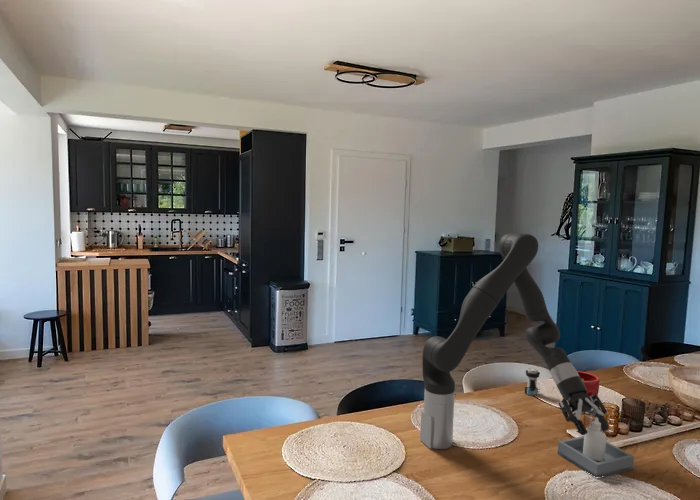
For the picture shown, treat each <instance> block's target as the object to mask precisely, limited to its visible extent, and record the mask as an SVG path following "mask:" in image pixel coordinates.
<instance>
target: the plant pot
mask: <svg viewBox="0 0 700 500" xmlns="http://www.w3.org/2000/svg"><path fill="white" fill-rule="evenodd" d="M576 371H577V372H578V374H579V376H580V378H581V380H582V381H583V383H584V385H585V387H586V389H587V391H586V393H587V394H588V396H589V397H590V396H593V395H595V394H596V395H597V396H598V395H599V392H600V377H599V376H597V375H595V374H593V373H589V372H586V371H585V372H584V371H578V370H576ZM598 397H599V396H598ZM563 399H564V398H563V397H562V400H563ZM569 407H570V406H569ZM570 409H571V407H570ZM591 409H592V407H591Z"/></svg>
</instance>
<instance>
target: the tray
mask: <svg viewBox="0 0 700 500" xmlns="http://www.w3.org/2000/svg"><path fill="white" fill-rule="evenodd" d="M583 445H584V435H581V436H576V437H573V438H572V437H571V438H568V439H563V440H559V441H557V455H558V456H560V457H562V458H563V459H565V460H566V461H567V462H569V463H571V464H572V465H575V466H576V467H578V468H579V469H581V470H582V471H584V472H585V471H586V472H585V473H587V472H588V473H590V474H592V475H593V476H595V477H602V476H606V477H609V476H608V475H610V476H614V475H617V474H622V473H625V472H629V471H633V470H634V459H635V456H634V455H632V454H630V453H629V452H627V451H625V450H623V449H621V448H620V447H617V446H615V445H614V444H611V442H609V441H606V448H605V459H604V460H603V461H602V462H600V461H596V460H592V459H591V458H589V457H587V456H586V455H584V454H583ZM588 473H587V474H588ZM590 474H589V475H590ZM593 476H592V477H593ZM602 478H603V477H602Z"/></svg>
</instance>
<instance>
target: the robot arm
mask: <svg viewBox="0 0 700 500" xmlns="http://www.w3.org/2000/svg"><path fill="white" fill-rule="evenodd" d="M498 250H499V253H500V256H501V258H502V260H503V261H501V263H500V264H499V265H498V266H497V267H496V268H495V269H493V270H491V271H490V272H489V273H487V274H486V275H484V276H483V277H482V278H480V279H479V280H478V281H477V282H476V283H474V285H473V286H472V288H471V289H470V290H469V292H468V293H467V295H466V296H465V298H464V299H463V302H462V303H461V307H460V314H459V318H458V321H457V324H456V326H455V328H454V329H453V331H452V332H451V333H450V335H449V336H448V337H447V338H445V337H442V336H437V335H435V336H431V337H430V338H428V339H427V340H426V342H425V344H424V346H423V349H422V359H421V360H422V361H421V362H422V379H423V382H424V396H423V400H424V401H423V410H421V412H420V428H419V429H420V432H419V433H420V434H419V441H421V443H423V444H424V445H425V446H426V447H427V448H429V450H431V449H434V450H444V449H445V450H447V449H449V448H451V447H452V446H453V439H454V415H455V412H454V411H455V397H456V395H455V391H456V383H455V380H454V378H453V377H452V375H451V373H450V372H452V371H454V370H455V369H457V367H458V366H459V365H460V363H461V362H462V361H463V359H464V357H465V355H466V353H467V351H468V350H469V348H470V347H471V344H472V342H473V340H475V338H476V336H477V334H478V333H479V332H480V331H481V329H482V328H483V325H484V324H485V322H487V320H488V319H489V318H490V316H491V315H492V313H493V312H494V310H495V309H496V308H497V306H498V305H499V304H500V302H501V300H502V299H503V297H504V296H505V295H506V293H507V292H508V291H509V289H510V288H511V286H512V285H513V284H514V285H515V287H516V290H517V293H518V296H519V298H520V301H521V304H522V309H523V311H524V315H525V317H526V319H527V320H528V322H529V321H530V322H542V323H540V324H539V323H538V324H536V325H533V326H530V327H528V328H527V329H526V331H525V339H526V341H527V342H528V344H529V345H530V346H531V347H532V348H533V349H534V350H535V351H536V353H538V354H539V356H540V357H541V358H542V359H543V362H544V363H545V365H546V367H547V369H548V371H549V373H550V375H551V378H552V380H553V382H554V383H555V386H556V388H557V389H558V391H559V394H560V395H561V397H562V400H560V401H559V402H558V406H559V408H560V410H561V412H562V414H563V415H562V416H564V419H565V421H566V422H567V423H568V422H571V423H573V424H574V426H575V428H576V430H577V432H578V433H579V434H580V435H581V436H584V435H585V434H587V430H586V429H587V428H586V426H585V424H584V422H583V421H582V419H581V414H582V413H584V414H586V413H587V414H588V415H591V416H593V417H595V418H596V417H597V418H598V420H599V422H600V423H601V431H602V432H606V431H608V430H609V429H610V425H609V424H608V421H607V420H606V417H605V415H606V414H607V413H608V410H607V408H606V407H605V405H604V404H603V402H602V401H601V398H600V397H599V396H597V395H596V394H595V395H593V396H590V397H589V396H588V394H587V393H586V391H587V389H586V387H585V385H584V383H583V381H584V380H583V379H581V378H580V376H579V374H578V372H577V371H578V370H577V369H576V367H574V365H573V364H572V362H571V360H570V359H569V356H568V354H567V353H566V351H565V350H564V349H563V348H562V347H559V346H558V347H557V346H556V347H549V346H547V345H550V344H553V343H554V344H555V343H556V342H558V341H559V340H560V338H561V332H560V329H559V328H558V326H557V324H556V323H555V322H554V320H553V319H552V316H551V315H550V313H549V310H548V308H547V305H546V300H545V297H544V295H543V293H542V291H541V289H540V287H539V286H538V284H537V282H536V281H535V280H534V278H533V277H532V275H531V273H530V271H529V269H528V268H527V267H528V266H529V265H530V264H531V263H532V261H533V260H534V259H535V257H536V256H537V253H538V250H539V242H538V239H537V238H536V236H534V235H532V234H529V233H523V232H522V233H518V232H510V233H509V232H508V233H506V234H503V236H502V237H501V239H499V243H498ZM563 398H564V399H563ZM569 406H570V407H571V408H570V407H569ZM591 407H592V409H591Z"/></svg>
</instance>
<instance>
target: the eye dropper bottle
mask: <svg viewBox="0 0 700 500" xmlns="http://www.w3.org/2000/svg"><path fill="white" fill-rule="evenodd" d="M586 430H587V434H585V435H583V436H584V445H583V454H584V455H586V456H587V457H589V458H591V459H592V460H596V461H600V462H602V461H603V460H604V459H605V448H606V442H607V434H606V433H605V432H604V431H603V430H602V429H601V423H600V422H599V420H598V418H597V417H595V419H594V420H592V421H591V427H590V428H586Z"/></svg>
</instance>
